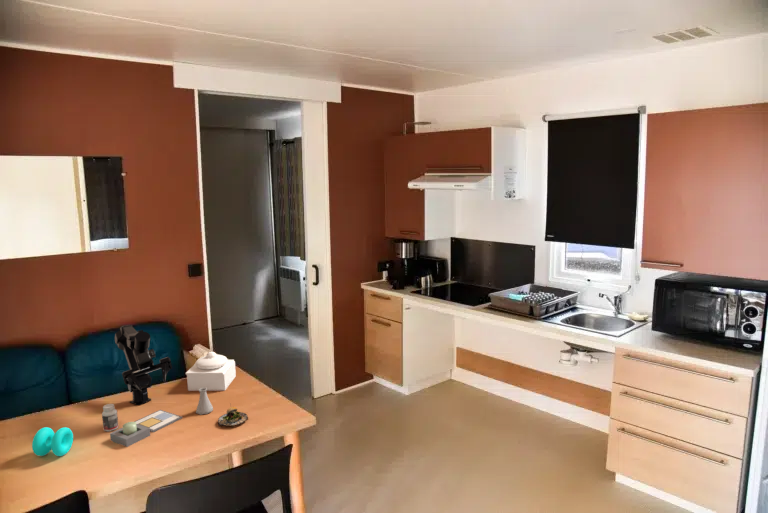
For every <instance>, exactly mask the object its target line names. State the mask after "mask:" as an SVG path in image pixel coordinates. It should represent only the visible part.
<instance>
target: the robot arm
mask: <svg viewBox="0 0 768 513" xmlns="http://www.w3.org/2000/svg"><path fill="white" fill-rule="evenodd" d="M150 341H151V334H150V333H149V332H148V331H144V330H143V329H140V330H136V329H135V328H134V325H133V324H127V325H122V326H120V328H119V330H118V331H117V332H115V334H114V342H115V345H116V346H117V348H118V349H119V350H122V351H123V353H124V355H125V356H124V357H125V359H126V361H127V365H128V368H129V369H128V370H126V371H123V372H122V373H121V376H122V378H123V381H124V385H126V386H127V388H128V389H127V390H128V391H129V392H130V393H132V400H130V401H129V403H130V404H133V405H137V406H141V405H144V404H145V403H147V402H150V401H152V398H149V393H148V389H149V388H151V387H152V377H151V374H149V373H152V372H154V371H157V370H160V369H161V374H162V380H163V382H164V383H166V379H167V375H168V372H170V370H172V369H173V366H172V365H173V364H172V360H171V357H169V356H167V357H163V358H161V359H159V363H156V364H154V360H153V358H156V351H155V350H154V348H152V349H149V348H150Z"/></svg>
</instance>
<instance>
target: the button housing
mask: <svg viewBox="0 0 768 513" xmlns="http://www.w3.org/2000/svg"><path fill="white" fill-rule="evenodd" d="M136 426H137V432H135V433H133V434H131V435H129V436H127V435H124V434H123V427H120V428H117V429H115V430H113V431H111V432H110V433H109V438H110V442H113V443H116V444H118V445H120V446H124V447H126V448H128V447H130V446H132V445H134V444H136V443H138V442H140V441H142V440H144V439H147V438H148V437H150V436H151V432H150V428H148V427H145V426H142V425H139V424H136Z"/></svg>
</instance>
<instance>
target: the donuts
mask: <svg viewBox="0 0 768 513" xmlns="http://www.w3.org/2000/svg"><path fill="white" fill-rule="evenodd" d="M73 441H74V433H73V431H72V430H71V428H69V427H66V426H64V427H61V428H59V429H58V430H56V431H54V430H53V429H52V428H51V427H47V426H45V427H42V428H40V429H38V430H37V432H36V433H35V434H34V436H33V439H32V444H31V448H32V452H33V453H34V455H36V456H37V457H38V456H39V457H44V456H47V455H48V454H49V453H50V452H51V451H52V452H51V453H52V454H54V455H55V456H56V457H62V456H66V454H68V453H69V451H70V450H71V448H72V446H73Z"/></svg>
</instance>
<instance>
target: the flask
mask: <svg viewBox="0 0 768 513" xmlns="http://www.w3.org/2000/svg"><path fill="white" fill-rule="evenodd" d="M206 390H207V388H201V389H199V391H198V392H199V400H198V403H197V406H196V411H195V414H197V415H208V414H210V413H211V412H212V411H214V407H213V404H212V402H211V401H210V398H209V397H208V393H207V391H206Z"/></svg>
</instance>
